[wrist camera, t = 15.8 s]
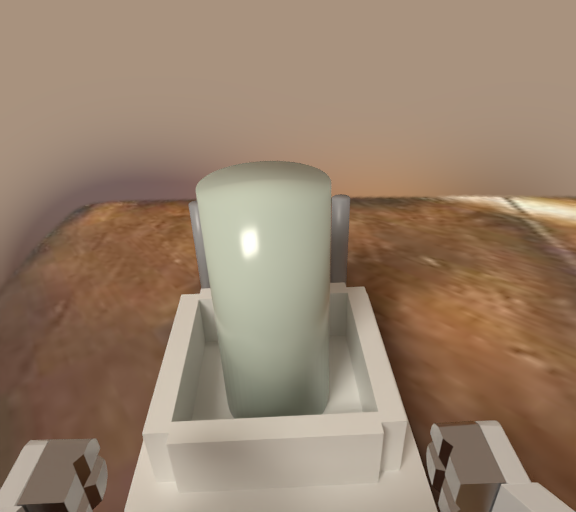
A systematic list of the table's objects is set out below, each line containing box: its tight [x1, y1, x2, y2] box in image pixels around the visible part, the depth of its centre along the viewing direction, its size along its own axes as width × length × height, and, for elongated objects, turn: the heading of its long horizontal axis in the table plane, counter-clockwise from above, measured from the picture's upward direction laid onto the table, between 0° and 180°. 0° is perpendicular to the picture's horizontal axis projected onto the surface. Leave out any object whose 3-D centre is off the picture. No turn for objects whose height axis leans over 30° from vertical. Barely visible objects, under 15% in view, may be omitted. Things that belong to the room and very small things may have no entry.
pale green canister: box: [196, 161, 331, 419], centre depth 20 cm, size 5×5×11 cm
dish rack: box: [124, 195, 438, 512], centre depth 21 cm, size 12×16×8 cm
